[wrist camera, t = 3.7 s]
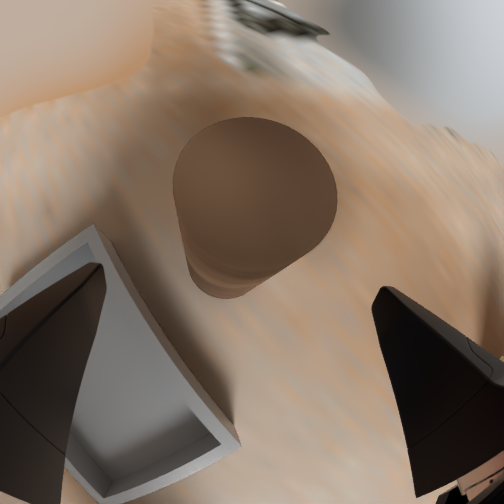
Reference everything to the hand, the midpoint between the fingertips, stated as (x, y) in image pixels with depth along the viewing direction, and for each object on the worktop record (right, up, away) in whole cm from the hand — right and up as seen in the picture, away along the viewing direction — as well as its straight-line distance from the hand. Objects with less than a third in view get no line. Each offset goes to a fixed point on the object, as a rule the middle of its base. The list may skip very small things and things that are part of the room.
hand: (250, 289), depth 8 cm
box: (-10, -7, +7) cm, 14 cm away
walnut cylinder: (-2, 0, +10) cm, 10 cm away
